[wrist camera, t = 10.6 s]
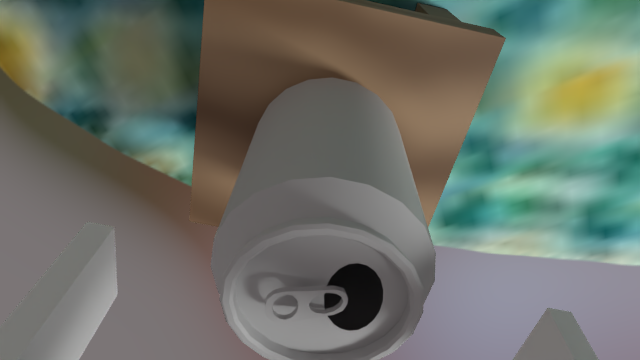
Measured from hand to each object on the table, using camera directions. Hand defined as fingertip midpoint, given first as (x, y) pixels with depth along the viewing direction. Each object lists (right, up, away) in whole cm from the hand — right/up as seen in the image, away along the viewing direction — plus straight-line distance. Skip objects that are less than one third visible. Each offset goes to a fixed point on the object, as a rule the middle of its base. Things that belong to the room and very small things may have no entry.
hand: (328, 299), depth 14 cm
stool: (0, +11, +19) cm, 22 cm away
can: (0, +6, +10) cm, 12 cm away
